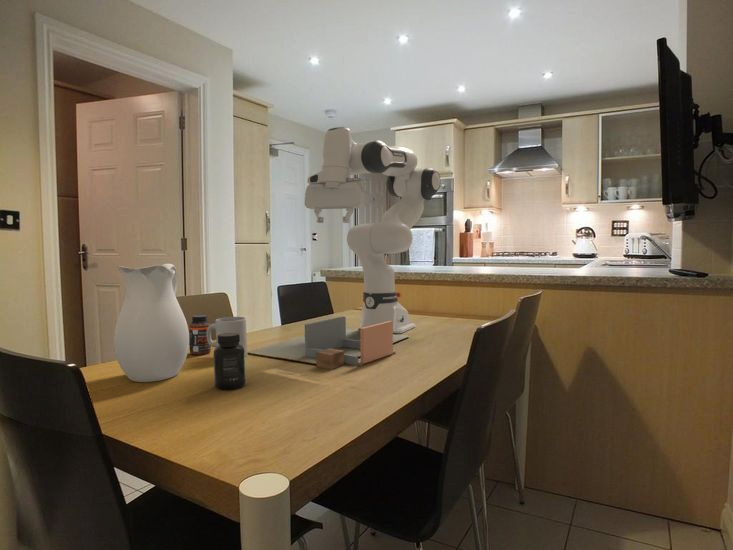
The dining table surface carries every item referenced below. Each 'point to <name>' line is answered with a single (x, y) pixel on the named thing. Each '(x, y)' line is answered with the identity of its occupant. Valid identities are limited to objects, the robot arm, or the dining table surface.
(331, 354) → the block
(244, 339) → the mug
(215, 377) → the supplement bottle
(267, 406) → the dining table surface
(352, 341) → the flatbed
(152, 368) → the pitcher
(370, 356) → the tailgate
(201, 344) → the supplement bottle
